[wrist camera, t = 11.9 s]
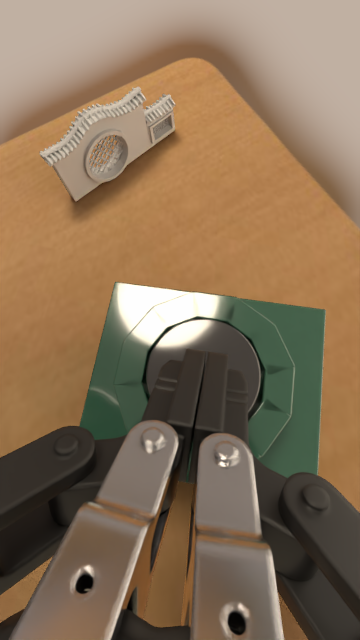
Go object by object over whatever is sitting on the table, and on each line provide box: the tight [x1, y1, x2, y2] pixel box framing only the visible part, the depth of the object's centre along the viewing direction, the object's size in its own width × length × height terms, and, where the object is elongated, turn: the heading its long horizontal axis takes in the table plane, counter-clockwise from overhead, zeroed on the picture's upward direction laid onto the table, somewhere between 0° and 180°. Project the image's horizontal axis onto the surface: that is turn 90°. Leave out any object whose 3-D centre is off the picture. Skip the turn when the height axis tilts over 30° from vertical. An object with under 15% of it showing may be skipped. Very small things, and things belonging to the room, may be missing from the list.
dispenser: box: [79, 282, 326, 484], centre depth 18 cm, size 11×9×10 cm
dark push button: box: [146, 319, 261, 413], centre depth 13 cm, size 4×4×3 cm
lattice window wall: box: [40, 87, 176, 201], centre depth 26 cm, size 12×2×6 cm, turn 130°
